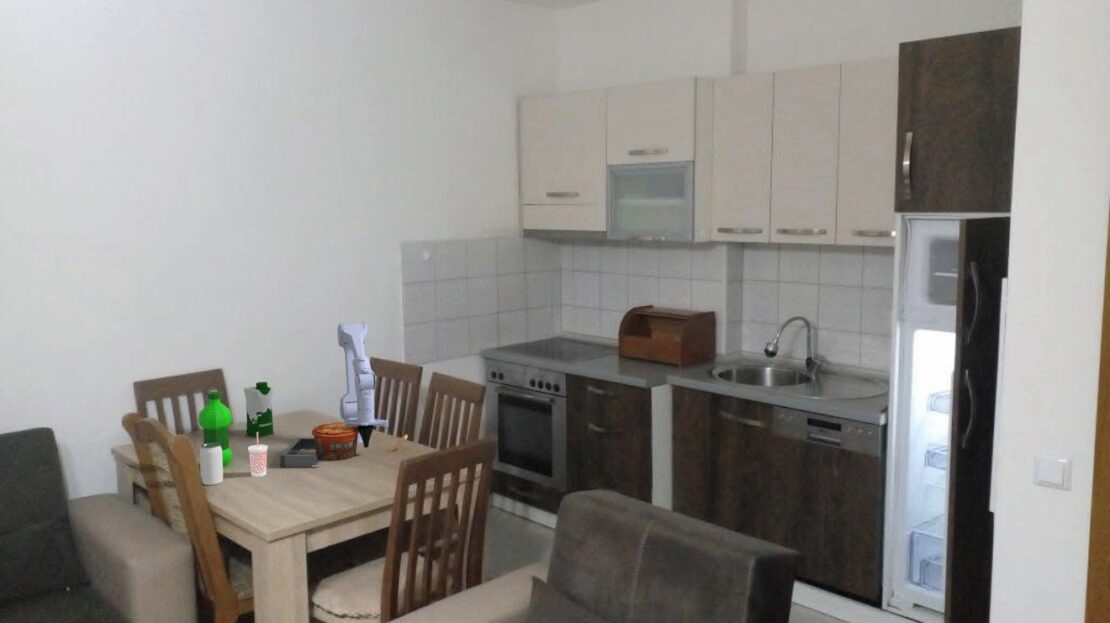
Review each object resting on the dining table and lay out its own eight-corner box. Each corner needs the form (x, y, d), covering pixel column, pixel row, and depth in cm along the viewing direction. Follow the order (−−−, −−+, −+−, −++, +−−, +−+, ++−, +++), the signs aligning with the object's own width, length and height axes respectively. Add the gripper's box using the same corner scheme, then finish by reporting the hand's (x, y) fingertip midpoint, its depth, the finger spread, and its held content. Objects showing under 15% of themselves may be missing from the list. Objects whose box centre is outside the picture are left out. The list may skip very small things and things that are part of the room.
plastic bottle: (205, 462, 293) (202, 389, 290) (237, 461, 294) (235, 389, 291) (196, 471, 283) (192, 396, 280) (229, 471, 284) (226, 396, 281)
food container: (362, 462, 295) (361, 431, 293) (313, 466, 290) (312, 435, 289) (358, 449, 310) (357, 420, 308) (311, 453, 305) (311, 423, 304)
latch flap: (405, 439, 305) (404, 437, 304) (388, 454, 305) (387, 451, 305) (407, 436, 310) (406, 434, 309) (391, 449, 310) (389, 447, 310)
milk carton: (257, 438, 322) (255, 385, 320) (242, 434, 328) (240, 382, 325) (277, 433, 329) (275, 381, 327) (262, 429, 335) (260, 378, 332)
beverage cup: (248, 472, 283) (246, 430, 281) (267, 470, 285) (266, 428, 284) (249, 478, 277) (248, 435, 276) (269, 476, 280) (268, 433, 278)
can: (215, 486, 269) (214, 448, 268) (196, 484, 271) (195, 447, 269) (227, 479, 276) (226, 442, 274) (209, 478, 277) (207, 441, 275)
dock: (297, 448, 310) (297, 437, 310) (331, 448, 311) (331, 437, 310) (280, 467, 289) (280, 455, 288) (317, 467, 289) (316, 455, 288)
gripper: (341, 410, 294) (342, 450, 296) (385, 411, 294) (385, 450, 296) (346, 406, 301) (346, 444, 303) (388, 406, 301) (388, 444, 303)
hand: (366, 446), depth 300 cm, fingers closed
